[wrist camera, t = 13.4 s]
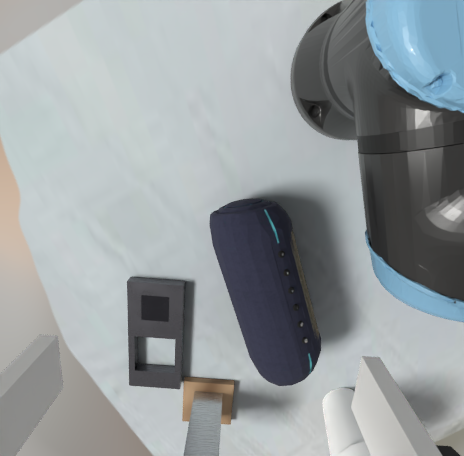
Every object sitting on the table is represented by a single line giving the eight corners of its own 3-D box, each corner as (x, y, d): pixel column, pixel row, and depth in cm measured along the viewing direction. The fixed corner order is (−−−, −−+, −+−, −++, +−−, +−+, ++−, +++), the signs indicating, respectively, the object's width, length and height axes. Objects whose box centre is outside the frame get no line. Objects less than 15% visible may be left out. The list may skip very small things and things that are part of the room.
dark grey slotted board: (185, 280, 46) (183, 285, 44) (181, 381, 51) (179, 389, 49) (130, 276, 46) (127, 281, 44) (132, 377, 51) (129, 385, 49)
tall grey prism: (222, 393, 50) (218, 468, 39) (220, 415, 52) (215, 495, 40) (194, 391, 50) (181, 466, 39) (193, 413, 52) (180, 492, 40)
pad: (234, 380, 51) (234, 385, 50) (230, 419, 53) (230, 424, 52) (184, 376, 51) (183, 381, 50) (183, 415, 53) (182, 420, 52)
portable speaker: (317, 337, 48) (336, 387, 39) (254, 352, 49) (259, 404, 40) (276, 182, 42) (288, 195, 32) (206, 202, 43) (197, 221, 33)
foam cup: (302, 395, 51) (323, 478, 39) (353, 370, 50) (392, 448, 37) (330, 433, 53) (358, 523, 41) (379, 410, 52) (424, 497, 39)
